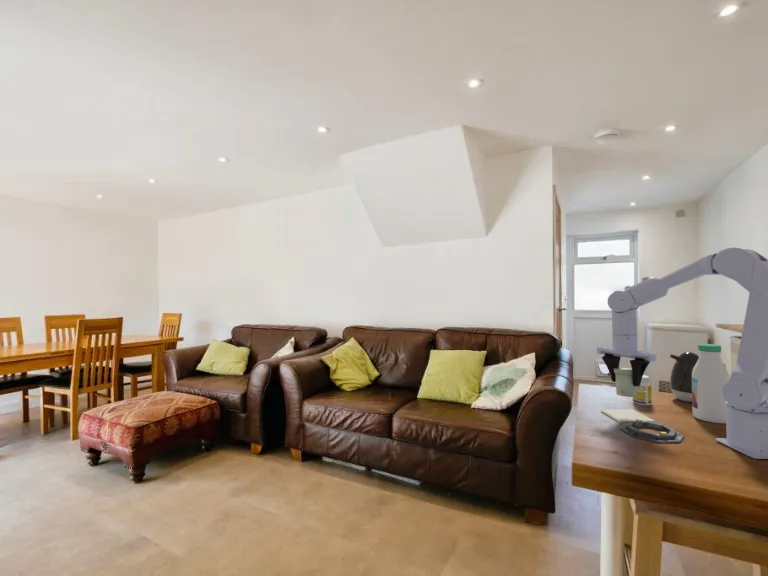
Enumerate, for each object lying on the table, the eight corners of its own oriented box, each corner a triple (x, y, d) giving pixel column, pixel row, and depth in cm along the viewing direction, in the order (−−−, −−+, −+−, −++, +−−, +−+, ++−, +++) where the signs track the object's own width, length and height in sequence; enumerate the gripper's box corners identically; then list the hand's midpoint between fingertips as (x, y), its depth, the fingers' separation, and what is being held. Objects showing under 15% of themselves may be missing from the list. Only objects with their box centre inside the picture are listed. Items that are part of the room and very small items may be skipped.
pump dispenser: (662, 395, 119) (660, 349, 119) (698, 396, 118) (696, 349, 118) (682, 405, 109) (680, 354, 109) (721, 406, 107) (720, 355, 108)
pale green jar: (631, 398, 96) (629, 371, 97) (610, 394, 101) (609, 369, 101) (642, 395, 99) (640, 369, 100) (621, 391, 104) (620, 366, 104)
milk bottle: (737, 421, 95) (735, 345, 96) (720, 426, 93) (718, 347, 93) (703, 412, 103) (701, 341, 103) (686, 416, 100) (684, 343, 100)
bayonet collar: (695, 442, 83) (695, 435, 83) (642, 443, 84) (642, 435, 84) (658, 423, 95) (658, 417, 95) (611, 423, 96) (611, 417, 96)
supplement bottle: (645, 401, 114) (644, 374, 114) (655, 405, 109) (654, 377, 109) (629, 400, 115) (628, 374, 115) (638, 405, 110) (637, 377, 110)
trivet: (655, 422, 96) (655, 420, 96) (620, 423, 96) (620, 420, 96) (632, 411, 105) (632, 409, 105) (601, 411, 105) (601, 409, 105)
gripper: (662, 335, 96) (663, 387, 96) (606, 330, 109) (607, 376, 109) (647, 337, 93) (649, 391, 93) (592, 332, 106) (593, 379, 106)
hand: (625, 383), depth 101 cm, fingers closed on pale green jar, 5 cm apart
